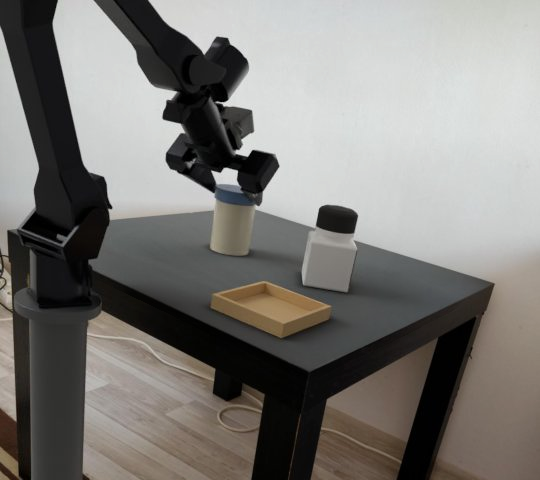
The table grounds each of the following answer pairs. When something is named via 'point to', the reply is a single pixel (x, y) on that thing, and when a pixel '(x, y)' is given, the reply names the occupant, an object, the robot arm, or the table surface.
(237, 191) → the jar lid
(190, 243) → the table surface
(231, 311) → the tray
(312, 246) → the medicine bottle
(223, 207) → the jar
